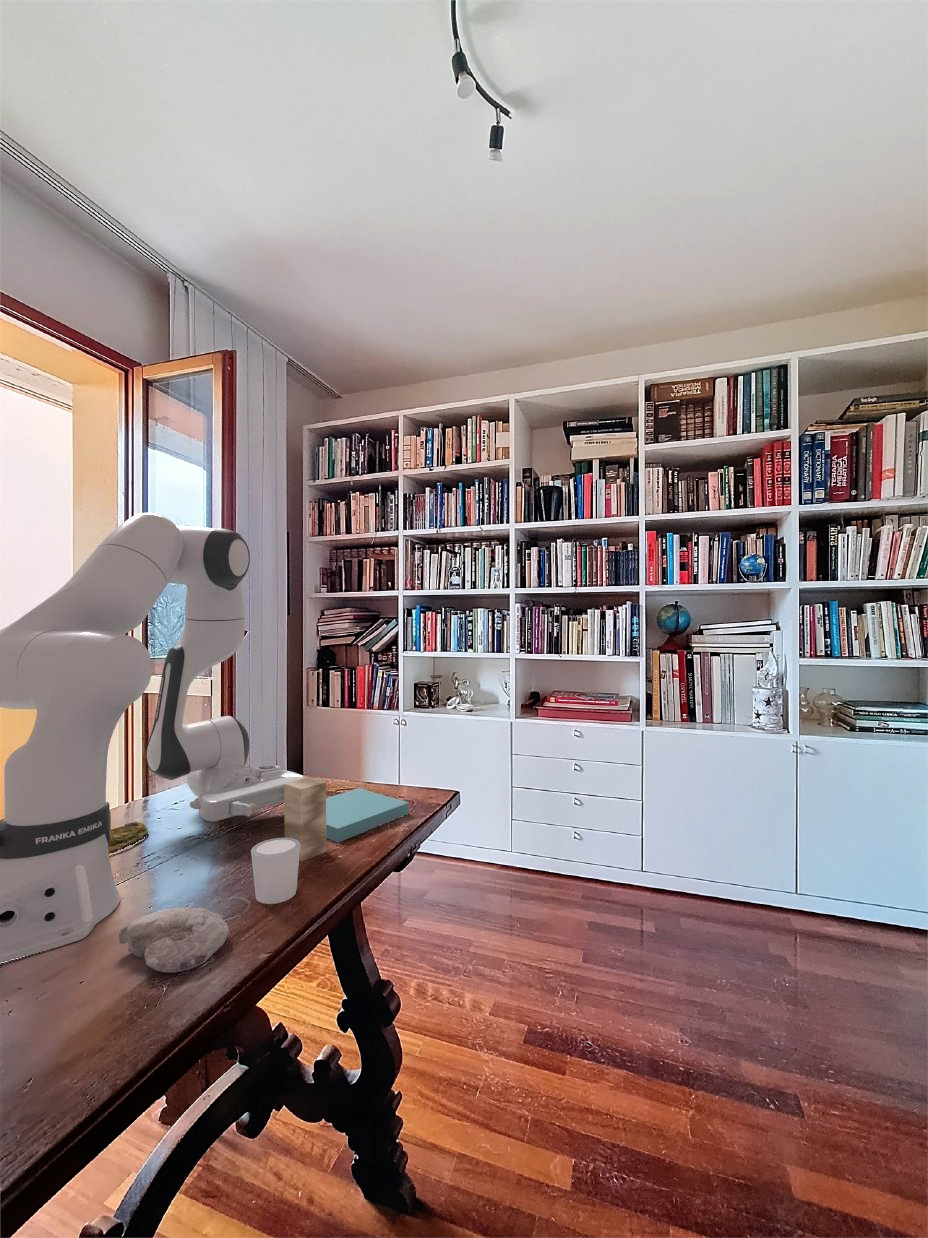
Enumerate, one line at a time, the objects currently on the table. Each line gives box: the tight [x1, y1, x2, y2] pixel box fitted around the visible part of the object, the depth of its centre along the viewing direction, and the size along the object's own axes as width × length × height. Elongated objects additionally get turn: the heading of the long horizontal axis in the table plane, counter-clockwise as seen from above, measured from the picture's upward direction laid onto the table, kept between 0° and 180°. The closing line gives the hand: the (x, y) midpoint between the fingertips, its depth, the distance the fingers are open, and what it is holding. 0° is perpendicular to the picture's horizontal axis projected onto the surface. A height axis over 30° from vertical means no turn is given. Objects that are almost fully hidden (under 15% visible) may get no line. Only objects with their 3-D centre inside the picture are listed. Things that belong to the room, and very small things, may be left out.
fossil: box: [118, 906, 230, 973], centre depth 65 cm, size 12×4×10 cm
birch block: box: [284, 777, 327, 862], centre depth 92 cm, size 5×5×12 cm
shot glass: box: [250, 837, 301, 905], centre depth 78 cm, size 7×7×7 cm
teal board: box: [326, 787, 410, 843], centre depth 108 cm, size 18×16×2 cm
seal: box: [108, 821, 149, 854], centre depth 97 cm, size 9×5×15 cm
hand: (277, 804), depth 98 cm, fingers open, 8 cm apart
